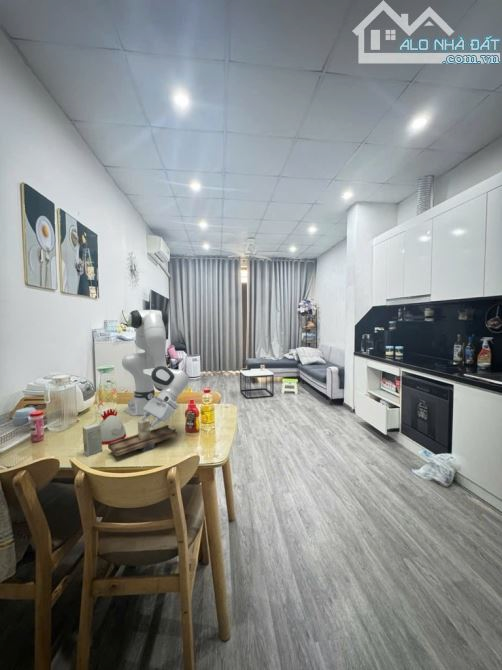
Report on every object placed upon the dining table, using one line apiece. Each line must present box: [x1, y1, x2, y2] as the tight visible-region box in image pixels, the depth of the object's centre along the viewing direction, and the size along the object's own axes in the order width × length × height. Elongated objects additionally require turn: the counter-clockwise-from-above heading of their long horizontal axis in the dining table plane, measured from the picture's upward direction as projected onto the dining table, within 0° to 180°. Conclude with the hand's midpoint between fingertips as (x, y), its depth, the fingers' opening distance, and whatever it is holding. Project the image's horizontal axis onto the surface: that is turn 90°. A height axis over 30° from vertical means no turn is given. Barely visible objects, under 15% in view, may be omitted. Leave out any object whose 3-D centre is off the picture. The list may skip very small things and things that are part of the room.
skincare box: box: [82, 422, 103, 457], centre depth 118 cm, size 6×4×12 cm
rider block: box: [137, 418, 151, 440], centre depth 123 cm, size 4×4×8 cm
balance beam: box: [107, 424, 178, 457], centre depth 123 cm, size 28×11×5 cm, turn 135°
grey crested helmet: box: [98, 408, 127, 446], centre depth 132 cm, size 14×14×15 cm
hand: (146, 424), depth 124 cm, fingers open, 8 cm apart
